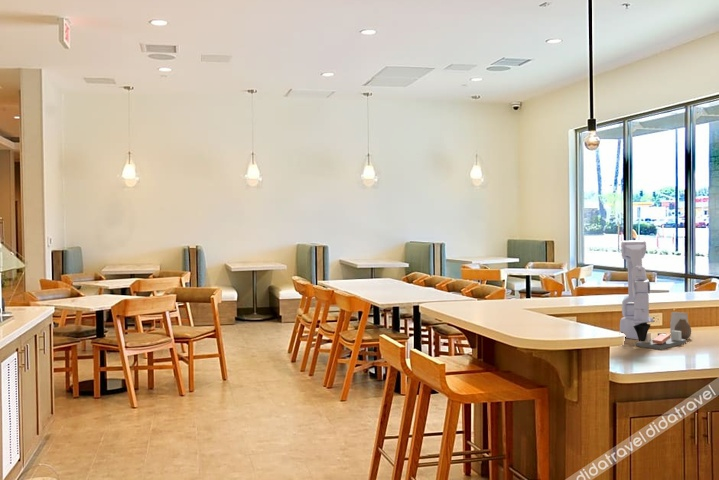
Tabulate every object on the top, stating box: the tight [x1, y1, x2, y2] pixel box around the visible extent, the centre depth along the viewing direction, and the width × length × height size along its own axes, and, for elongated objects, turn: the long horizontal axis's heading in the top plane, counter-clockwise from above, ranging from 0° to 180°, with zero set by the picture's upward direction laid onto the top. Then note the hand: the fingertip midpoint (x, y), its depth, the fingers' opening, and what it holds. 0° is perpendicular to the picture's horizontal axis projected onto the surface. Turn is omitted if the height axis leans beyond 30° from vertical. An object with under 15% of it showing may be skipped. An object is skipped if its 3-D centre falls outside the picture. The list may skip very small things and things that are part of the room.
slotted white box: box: [670, 330, 682, 341], centre depth 300 cm, size 3×2×4 cm
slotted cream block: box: [640, 332, 652, 343], centre depth 298 cm, size 3×2×4 cm
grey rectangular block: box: [669, 311, 689, 333], centre depth 323 cm, size 4×7×10 cm, turn 48°
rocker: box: [652, 333, 671, 344], centre depth 294 cm, size 4×7×2 cm, turn 127°
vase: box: [674, 319, 692, 340], centre depth 312 cm, size 7×7×9 cm
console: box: [635, 338, 687, 350], centre depth 300 cm, size 11×20×2 cm, turn 127°
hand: (642, 341), depth 296 cm, fingers closed
